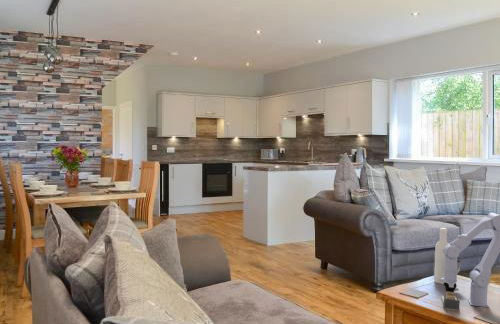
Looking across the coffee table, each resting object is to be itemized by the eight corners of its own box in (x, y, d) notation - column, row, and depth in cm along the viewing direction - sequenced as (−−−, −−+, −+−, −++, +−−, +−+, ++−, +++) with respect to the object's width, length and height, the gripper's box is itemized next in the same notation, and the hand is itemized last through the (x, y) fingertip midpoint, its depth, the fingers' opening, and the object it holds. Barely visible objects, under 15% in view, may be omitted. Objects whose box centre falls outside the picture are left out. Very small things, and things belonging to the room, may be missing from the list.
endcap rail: (441, 298, 230) (441, 289, 230) (455, 300, 228) (456, 290, 228) (444, 309, 215) (444, 299, 215) (459, 310, 213) (459, 300, 213)
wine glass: (462, 291, 243) (463, 262, 243) (446, 290, 243) (447, 262, 243) (455, 286, 251) (456, 258, 251) (440, 286, 251) (441, 258, 251)
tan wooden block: (446, 301, 224) (446, 291, 224) (453, 302, 223) (453, 292, 223) (447, 307, 215) (447, 296, 215) (455, 308, 214) (455, 297, 214)
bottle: (450, 284, 254) (452, 229, 253) (435, 283, 256) (437, 229, 255) (447, 280, 262) (449, 227, 261) (432, 279, 264) (434, 226, 263)
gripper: (440, 265, 233) (439, 292, 233) (442, 273, 219) (441, 301, 219) (455, 267, 230) (454, 294, 231) (459, 274, 217) (458, 303, 217)
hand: (449, 298), depth 225 cm, fingers closed
